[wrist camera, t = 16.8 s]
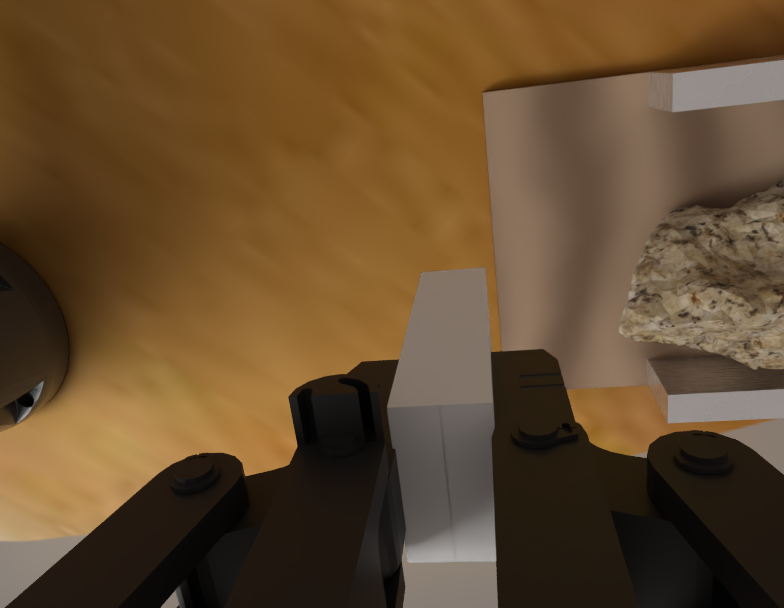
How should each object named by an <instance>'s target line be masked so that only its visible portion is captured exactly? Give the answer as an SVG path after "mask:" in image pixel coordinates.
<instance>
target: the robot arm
mask: <svg viewBox="0 0 784 608" xmlns="http://www.w3.org/2000/svg"><path fill="white" fill-rule="evenodd" d="M68 358H69V343H68V335H67V330H66V326H65V322H64V319H63V316H62V314H61V311H60V309H59V306H58V304H57V302H56V300H55V299H54V297H53V295H52V293H51V292H50V290H49V289H48V287H47V286H46V284H45V283H44V282H43V280H42V279H41V278H40V277H39V275H38V274H37V273H36V272H35V271H34V270H33V269H32V268H31V267H30V266H29V265H28V264H27V263H26V262H25V261H24V260H23V259H21V258H20V257H19V256H18V255H17V254H15V253H14V252H12V251H11V250H10V249H8V248H7V247H5V246H3V245H2V244H0V432H1V431H4V430H7V429H9V428H12V427H14V426H16V425H18V424H19V423H21V422H23V421H24V420H26V419H27V418H29V417H30V416H31V415H33V414H34V413H35V412H36V411H38V410H39V409H40V408H41V407H43V406H44V405H45V404H46V403H47V402H49V401H50V399H51V398H52V397H53V396H54V395H55V394H56V392H57V391H58V389H59V388H60V386H61V384H62V382H63V379H64V377H65V373H66V370H67V365H68ZM289 403H290V408H291V413H292V418H293V424H294V429H295V434H296V440H297V445H298V447H297V449H296V451H295V453H294V456H293V458H292V460H291V462H290V464H289V465H288V466H285V467H282V468H278V469H275V470H272V471H267V472H263V473H258V474H254V475H250V476H245V474H244V470H243V465H242V463H241V462H240V461H239V460H238V459H237V458H236V457H235V456H232V455H229V454H225V453H201V454H199V455H197V454H196V455H192V456H189V457H187V458H185V459H183V460H181V461H179V462H176V463H174V464H172V465H170V466H169V467H167V468H166V469H164V470H163V471H162V472H160V473H159V474H157V475H156V476H155V477H154V478H153V479H152V480H151V481H149V482H148V483H147V484H146V485H145V486H144V487H143V488H141V489H140V490H139V491H138V492H137V493H136V494H135V495H133V496H132V497H131V498H130V499H129V500H128V501H127V502H125V503H124V504H123V505H122V506H121V507H120V508H119V509H117V510H116V511H115V512H114V513H113V514H112V515H111V516H109V517H108V518H107V519H106V520H105V521H104V522H102V523H101V524H100V525H99V526H98V527H97V528H96V529H94V530H93V531H92V532H91V533H90V534H89V535H88V536H86V537H85V538H84V539H83V540H82V541H81V542H80V543H78V544H77V545H76V546H75V547H74V548H73V549H72V550H71V551H69V552H68V553H67V554H66V555H65V556H64V557H62V558H61V559H60V560H59V561H58V562H57V563H56V564H54V565H53V566H52V567H51V568H50V569H49V570H47V571H46V572H45V573H44V574H43V575H42V576H41V577H39V579H37V580H36V581H35V582H34V583H33V584H31V585H30V586H29V587H28V588H27V589H26V590H25V591H23V593H21V594H20V595H19V596H18V597H17V598H15V599H14V600H13V601H12V602H11V603H10V604H9V605H7V606H6V607H5V608H161V606H162V605H163V604H164V603H165V601H166V600H167V599H168V598H169V597H170V596H171V595H172V593H173V592H174V591H176V595H177V598H178V602H179V606H178V607H177V608H403V601H404V593H405V582H404V575H403V567H402V553H403V546H404V539H405V545H406V552H407V560H408V562H474V561H475V562H477V561H479V562H480V561H496V567H497V591H498V608H784V475H783V474H782V473H781V472H780V471H778V470H777V469H776V468H775V467H773V466H772V465H771V464H770V463H769V462H767V461H766V460H765V459H764V458H763V457H761V456H760V455H759V454H758V453H757V452H755V451H754V450H753V449H751V448H750V447H748V446H746V445H745V444H743V443H741V442H740V441H738V440H736V439H732V438H729V437H726V436H723V435H720V434H717V433H714V432H708V431H706V432H703V431H697V430H692V431H683V432H674V433H671V434H667V435H664V436H661V437H659V438H658V439H656V440H655V441H654V442H653V443H651V444H650V445H649V449H648V453H647V458H641V457H635V456H628V455H623V454H618V453H614V452H610V451H607V450H604V449H602V448H599V447H597V446H595V445H593V444H592V443H590V442H589V439H588V435H587V433H586V432H585V430H584V429H583V427H582V426H581V425H580V424H579V423H577V422H575V419H574V416H573V412H572V409H571V405H570V401H569V398H568V394H567V391H566V387H565V384H564V380H563V377H562V374H561V369H560V366H559V362H558V359H556V358H555V357H554V356H552V355H551V354H549V353H548V352H547V351H545V350H544V349H533V350H517V351H500V352H492V348H491V335H490V322H489V308H488V295H487V281H486V268H485V267H483V268H470V269H458V270H445V271H432V272H421V276H420V280H419V284H418V288H417V292H416V296H415V300H414V303H413V307H412V311H411V315H410V319H409V323H408V327H407V331H406V335H405V339H404V343H403V346H402V350H401V354H400V358H399V360H383V361H366V362H361V363H360V364H359V365H357V366H356V367H355V368H354V369H352V370H351V371H350V372H349V373H347V374H339V375H332V376H325V377H322V378H319V379H315V380H312V381H309V382H307V383H305V384H304V385H302V386H300V387H298V388H296V389H295V390H294V391H293V392H292V393H291V395H290V396H289Z"/></svg>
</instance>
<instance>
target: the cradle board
mask: <svg viewBox="0 0 784 608" xmlns="http://www.w3.org/2000/svg"><path fill="white" fill-rule="evenodd" d="M778 56H784V55H778ZM770 57H777V56H770ZM762 58H769V57H762ZM754 59H761V58H754ZM746 60H753V59H746ZM737 61H745V60H737ZM737 61H729V62H737ZM729 62H721V63H729ZM721 63H713V64H721ZM705 65H712V64H705ZM697 66H704V65H697ZM689 67H696V66H689ZM681 68H688V67H681ZM673 69H680V68H673ZM665 70H672V69H665ZM657 71H664V70H657ZM649 72H656V71H649ZM649 72H641V73H633V74H624V75H616V76H608V77H600V78H592V79H584V80H576V81H568V82H560V83H552V84H544V85H536V86H528V87H519V88H511V89H503V90H495V91H487V92H482V93H483V107H484V120H485V134H486V147H487V160H488V174H489V187H490V201H491V214H492V227H493V241H494V254H495V268H496V281H497V294H498V308H499V321H500V334H501V348H502V351H517V350H533V349H544V350H545V351H547V352H548V353H549V354H551V355H552V356H554V357H555V358H556V359H558V362H559V366H560V369H561V374H562V377H563V380H564V384H565V387H566V389H584V388H603V387H621V386H640V385H647V360H648V359H663V358H680V357H697V356H714V355H721V354H719V353H712V352H709V351H706V350H704V349H703V350H700V349H694V348H690V347H689V348H688V347H685V346H684V345H679V346H678V345H677V344H675V343H674V344H658V343H651V342H644V343H642V342H639V341H635V340H631V338H628V337H625V336H624V335H622V334H620V333H619V322H620V319H621V316H622V313H623V310H624V308H625V306H626V304H627V302H628V294H629V290H630V287H631V283H632V277H633V272H634V270H635V268H636V266H637V265H638V262H639V259H640V256H641V253H642V250H643V248H644V245H645V243H646V241H647V239H648V238H649V237H650V235H651V234H652V232H653V231H654V229H655V228H656V227H657V225H659V223H660V221H661V220H662V219H663V218H665V217H666V216H667V215H668V214H669V213H670V212H671V211H672V210H674V209H677V208H691V207H694V206H696V205H698V206H702V207H710V208H718V209H724V208H731V207H732V206H734V205H735V204H736V203H737V202H738V201H740V200H742V199H744V198H747V197H751V196H752V195H754V194H756V193H759V192H765V191H767V190H768V189H769V188H770V187H771V186H772V185H774V184H776V183H778V182H780V181H781V180H783V179H784V100H777V101H768V102H759V103H751V104H742V105H733V106H724V107H716V108H707V109H698V110H689V111H681V112H669V111H665V110H660V109H656V108H652V107H648V94H649ZM652 342H657V341H652Z"/></svg>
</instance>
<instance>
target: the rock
mask: <svg viewBox="0 0 784 608" xmlns="http://www.w3.org/2000/svg"><path fill="white" fill-rule="evenodd" d="M619 333H620V334H622V335H624V336H625V337H628V338H631V340H635V341H639V342H642V343H644V342H651V343H658V344H674V343H675V344H677V345H678V346H679V345H684V346H685V347H688V348H689V347H690V348H694V349H700V350H703V349H704V350H706V351H709V352H712V353H719V354H721V355H723V356H725V357H727V358H732V359H734V360H736V361H738V362H741V363H743V364H745V365H746V366H748V367H750V368H752V369H754V370H756V369H760V368H767V369H784V179H783V180H781V181H780V182H778V183H776V184H774V185H772V186H771V187H770V188H769V189H768V190H767V191H765V192H759V193H756V194H754V195H752V196H751V197H747V198H744V199H742V200H740V201H738V202H737V203H736V204H735V205H734V206H732V207H731V208H724V209H718V208H710V207H702V206H698V205H696V206H694V207H691V208H677V209H674V210H672V211H671V212H670V213H669V214H668V215H667V216H666V217H665V218H663V219H662V220H661V221H660V223H659V225H657V227H656V228H655V229H654V231H653V232H652V234H651V235H650V237H649V238H648V239H647V241H646V243H645V245H644V248H643V250H642V253H641V256H640V259H639V262H638V265H637V266H636V268H635V270H634V272H633V277H632V283H631V287H630V290H629V294H628V302H627V304H626V306H625V308H624V310H623V313H622V316H621V319H620V322H619ZM652 341H657V342H652Z"/></svg>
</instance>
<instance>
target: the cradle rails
mask: <svg viewBox="0 0 784 608" xmlns="http://www.w3.org/2000/svg"><path fill="white" fill-rule="evenodd" d="M777 100H784V56H777V57H769V58H761V59H753V60H745V61H737V62H729V63H721V64H712V65H704V66H696V67H688V68H680V69H672V70H664V71H656V72H649V94H648V107H652V108H656V109H660V110H665V111H669V112H681V111H689V110H698V109H707V108H716V107H724V106H733V105H742V104H751V103H759V102H768V101H777ZM647 385H648V387H649V389H650V391H651V393H652V395H653V397H654V398H655V400H656V402H657V404H658V406H659V408H660V410H661V412H662V413H663V415H664V417H665V419H666V421H667V423H683V422H705V421H727V420H749V419H771V418H784V369H767V368H760V369H756V370H754V369H752V368H750V367H748V366H746V365H745V364H743V363H741V362H738V361H736V360H734V359H732V358H727V357H725V356H723V355H714V356H697V357H680V358H663V359H648V360H647Z"/></svg>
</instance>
